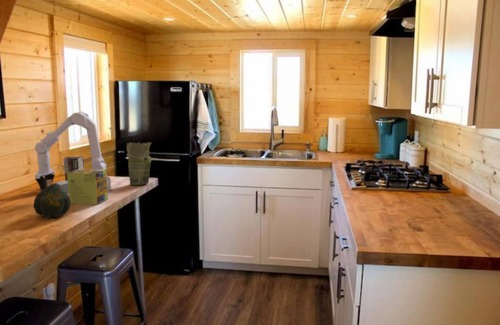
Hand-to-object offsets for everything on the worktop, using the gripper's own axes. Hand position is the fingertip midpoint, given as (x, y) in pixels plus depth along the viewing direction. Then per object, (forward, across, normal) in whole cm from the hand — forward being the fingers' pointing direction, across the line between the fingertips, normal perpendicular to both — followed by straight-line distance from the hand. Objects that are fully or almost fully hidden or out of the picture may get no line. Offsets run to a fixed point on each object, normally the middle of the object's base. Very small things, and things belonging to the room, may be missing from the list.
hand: (46, 188), depth 223 cm
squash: (+2, +40, +28) cm, 49 cm away
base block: (+2, 0, +10) cm, 10 cm away
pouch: (+2, -24, +44) cm, 50 cm away
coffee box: (+2, -18, +7) cm, 19 cm away
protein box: (+2, +16, +32) cm, 36 cm away
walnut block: (+2, 0, 0) cm, 2 cm away
